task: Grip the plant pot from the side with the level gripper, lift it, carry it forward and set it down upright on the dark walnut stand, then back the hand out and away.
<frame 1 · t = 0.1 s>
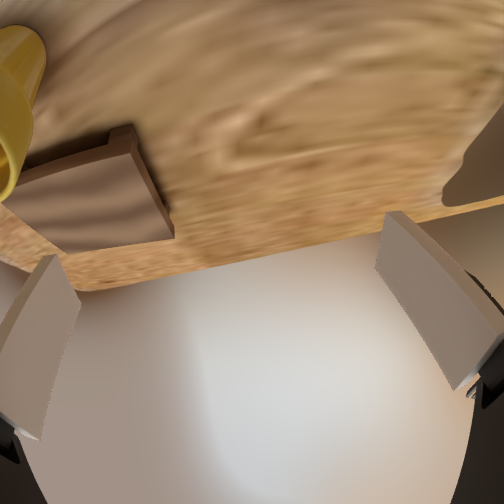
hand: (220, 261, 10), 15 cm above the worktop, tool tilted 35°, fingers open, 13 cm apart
walnut stand: (92, 186, 27), on the worktop
plant pot: (12, 60, 10), on the worktop
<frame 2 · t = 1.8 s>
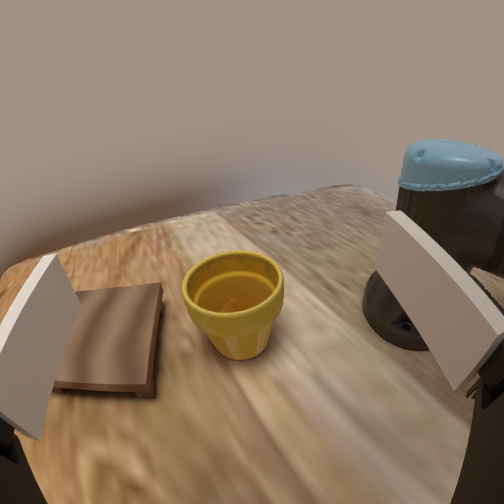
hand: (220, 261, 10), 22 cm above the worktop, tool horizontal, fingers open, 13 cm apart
walnut stand: (108, 348, 32), on the worktop
plant pot: (241, 339, 34), on the worktop
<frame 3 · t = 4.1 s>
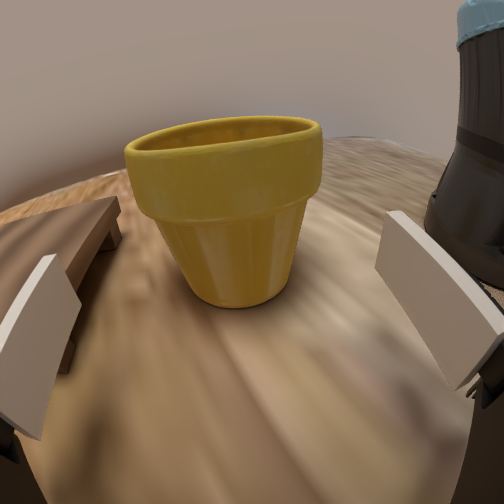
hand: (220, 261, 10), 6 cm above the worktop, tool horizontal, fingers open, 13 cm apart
walnut stand: (29, 295, 18), on the worktop
plant pot: (238, 276, 19), on the worktop
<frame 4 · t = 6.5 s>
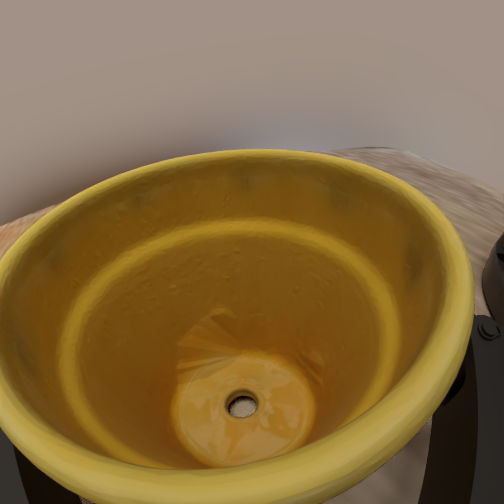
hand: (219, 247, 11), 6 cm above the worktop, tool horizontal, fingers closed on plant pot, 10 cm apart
plant pot: (242, 416, 11), on the worktop, touching gripper
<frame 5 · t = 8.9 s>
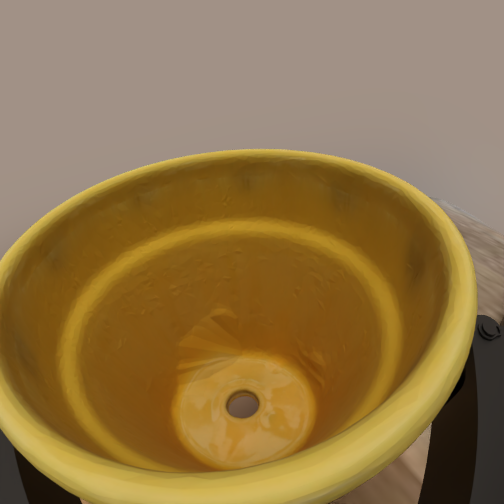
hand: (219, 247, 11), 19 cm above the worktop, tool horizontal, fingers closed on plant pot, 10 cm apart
walnut stand: (208, 461, 18), on the worktop
plant pot: (243, 416, 11), point 12 cm above the worktop, touching gripper
when the fingers open (11 cm above the worktop, at t = 11.4 s): plant pot drops 1 cm, resting on walnut stand.
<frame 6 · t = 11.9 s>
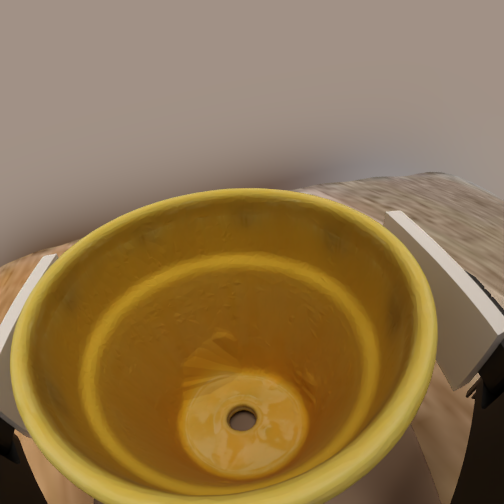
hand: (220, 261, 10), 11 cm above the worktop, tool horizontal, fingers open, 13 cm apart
walnut stand: (252, 445, 14), on the worktop
plant pot: (243, 428, 12), point 4 cm above the worktop, touching walnut stand
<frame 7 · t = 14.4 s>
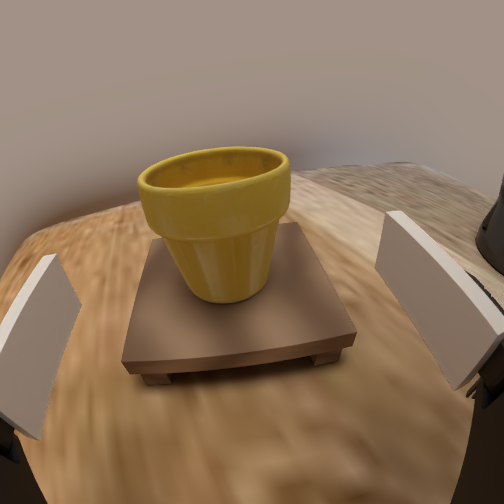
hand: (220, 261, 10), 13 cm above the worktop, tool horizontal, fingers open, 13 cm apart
walnut stand: (233, 309, 26), on the worktop
plant pot: (227, 278, 24), point 4 cm above the worktop, touching walnut stand
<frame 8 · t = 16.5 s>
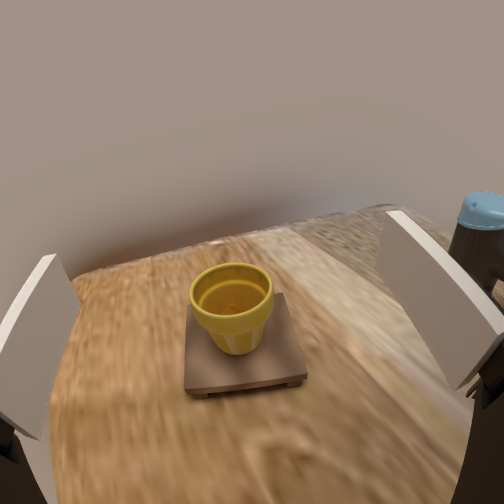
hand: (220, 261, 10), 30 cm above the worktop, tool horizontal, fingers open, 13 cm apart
walnut stand: (242, 352, 42), on the worktop
plant pot: (238, 337, 39), point 4 cm above the worktop, touching walnut stand
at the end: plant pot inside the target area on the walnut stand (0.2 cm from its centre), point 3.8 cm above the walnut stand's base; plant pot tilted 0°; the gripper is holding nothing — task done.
